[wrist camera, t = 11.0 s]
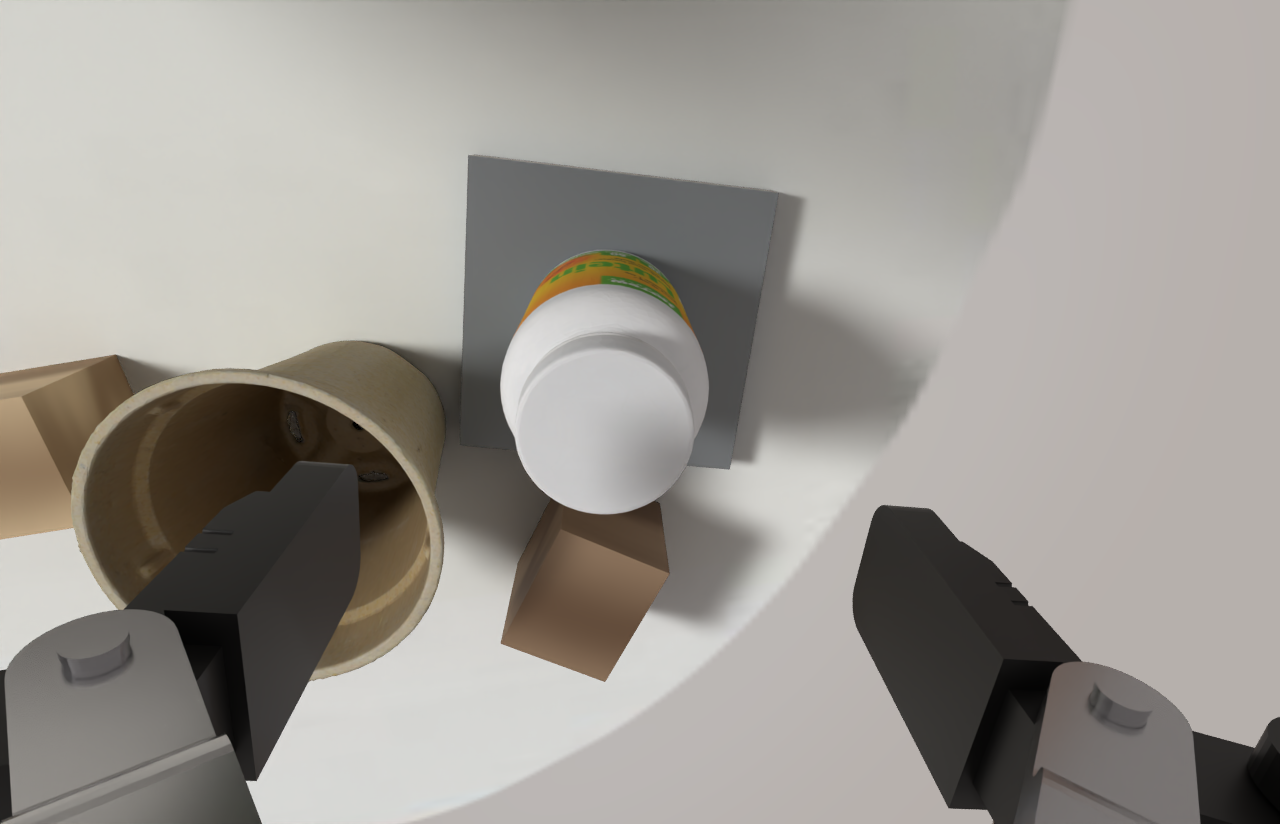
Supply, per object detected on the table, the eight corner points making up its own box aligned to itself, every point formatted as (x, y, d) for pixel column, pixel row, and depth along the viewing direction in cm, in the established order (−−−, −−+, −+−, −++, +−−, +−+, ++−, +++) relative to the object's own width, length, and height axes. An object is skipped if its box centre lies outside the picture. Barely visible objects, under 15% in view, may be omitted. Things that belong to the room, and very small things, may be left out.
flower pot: (537, 466, 28) (509, 599, 20) (336, 566, 29) (232, 731, 21) (398, 249, 25) (297, 302, 17) (180, 372, 26) (-14, 477, 18)
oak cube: (-5, 373, 26) (-124, 419, 22) (117, 354, 26) (21, 396, 22) (51, 484, 27) (-50, 547, 23) (166, 466, 27) (85, 526, 23)
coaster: (475, 154, 24) (468, 155, 23) (770, 190, 24) (778, 192, 23) (465, 432, 27) (459, 445, 26) (724, 456, 28) (729, 469, 27)
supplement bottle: (687, 248, 24) (736, 315, 15) (681, 400, 26) (720, 542, 17) (524, 246, 24) (472, 313, 15) (530, 399, 26) (487, 543, 17)
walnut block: (568, 463, 28) (560, 529, 23) (659, 502, 29) (669, 573, 24) (517, 563, 29) (500, 643, 25) (605, 598, 30) (604, 681, 26)
